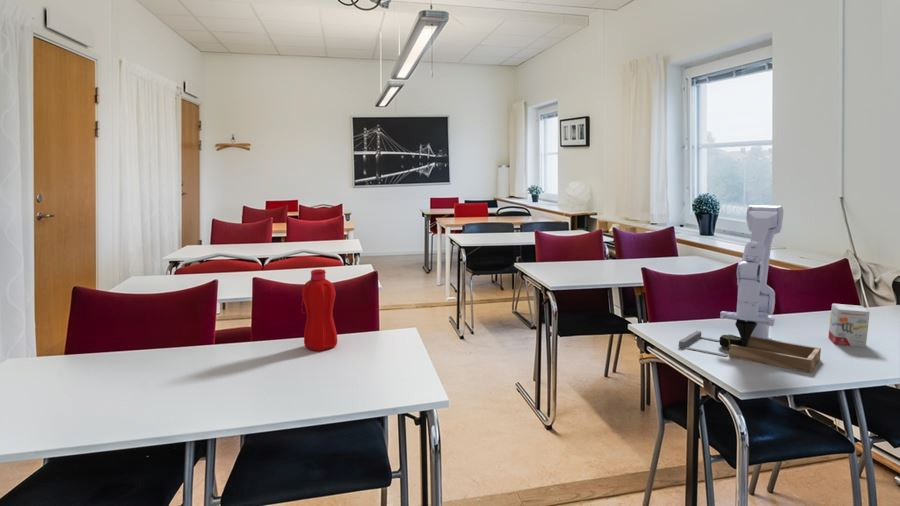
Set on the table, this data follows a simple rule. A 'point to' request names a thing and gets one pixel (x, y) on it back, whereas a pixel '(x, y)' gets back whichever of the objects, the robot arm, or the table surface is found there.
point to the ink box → (848, 325)
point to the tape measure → (730, 341)
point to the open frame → (778, 353)
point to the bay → (693, 338)
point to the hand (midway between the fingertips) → (744, 344)
